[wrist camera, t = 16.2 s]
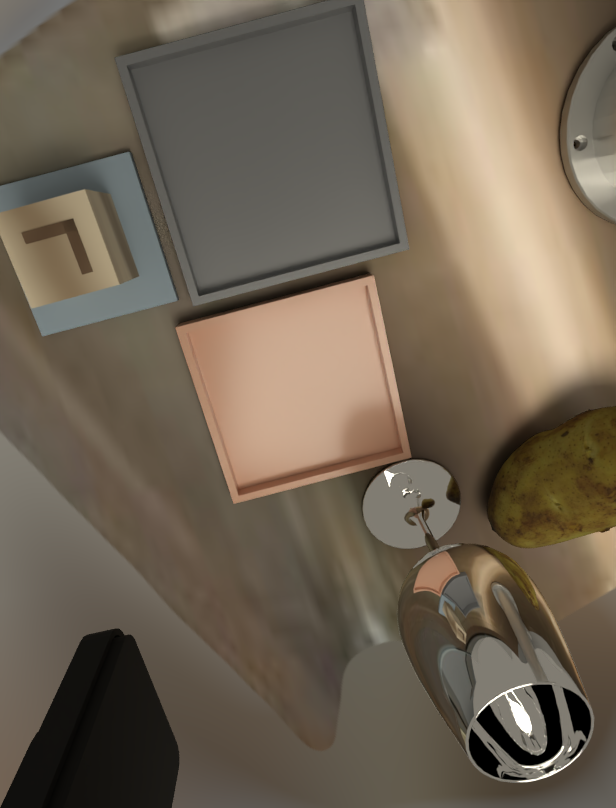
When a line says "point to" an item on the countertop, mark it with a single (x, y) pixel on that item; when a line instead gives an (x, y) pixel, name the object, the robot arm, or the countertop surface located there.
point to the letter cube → (67, 246)
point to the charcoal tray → (268, 148)
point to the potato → (558, 483)
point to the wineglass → (479, 634)
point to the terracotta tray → (297, 387)
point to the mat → (138, 228)
